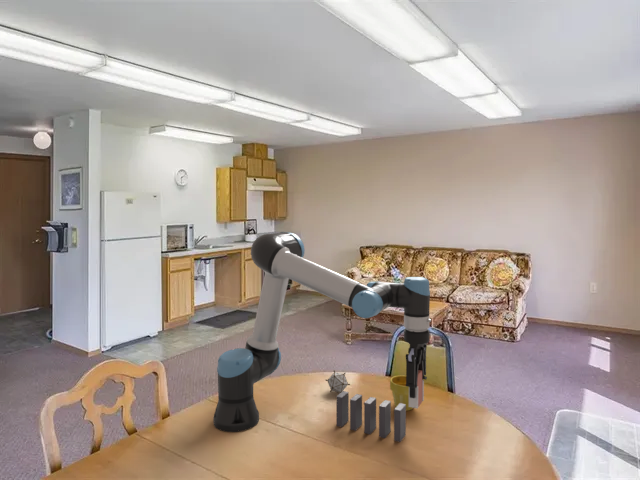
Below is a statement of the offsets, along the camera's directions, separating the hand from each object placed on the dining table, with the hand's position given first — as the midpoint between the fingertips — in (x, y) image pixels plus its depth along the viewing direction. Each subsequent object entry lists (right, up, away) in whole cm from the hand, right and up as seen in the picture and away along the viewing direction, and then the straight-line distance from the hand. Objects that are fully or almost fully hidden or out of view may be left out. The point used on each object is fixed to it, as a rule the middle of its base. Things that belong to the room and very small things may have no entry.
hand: (416, 403), depth 139 cm
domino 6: (0, 0, 0) cm, 0 cm away
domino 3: (-13, -12, +8) cm, 19 cm away
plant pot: (+1, -11, +25) cm, 28 cm away
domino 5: (-4, -12, +3) cm, 13 cm away
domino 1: (-22, -11, +13) cm, 28 cm away
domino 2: (-17, -11, +11) cm, 24 cm away
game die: (-22, -10, +39) cm, 46 cm away
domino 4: (-9, -12, +6) cm, 16 cm away
